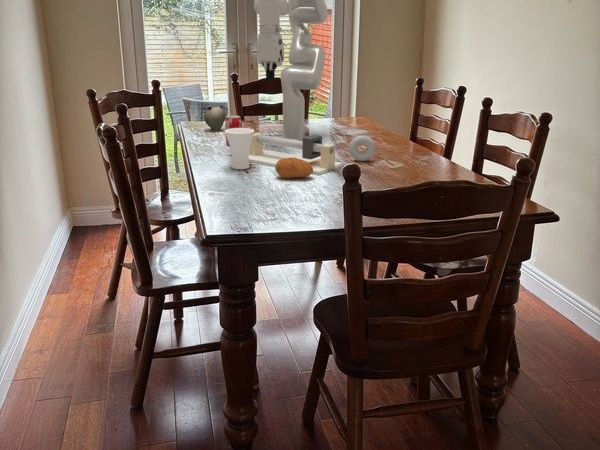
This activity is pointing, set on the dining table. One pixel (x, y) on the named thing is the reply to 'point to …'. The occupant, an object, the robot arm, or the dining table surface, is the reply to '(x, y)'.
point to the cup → (240, 146)
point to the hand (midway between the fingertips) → (270, 80)
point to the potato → (293, 168)
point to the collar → (311, 146)
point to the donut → (358, 141)
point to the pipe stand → (273, 157)
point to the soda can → (232, 123)
